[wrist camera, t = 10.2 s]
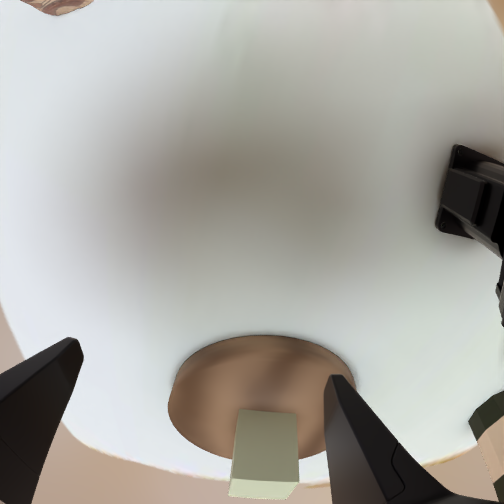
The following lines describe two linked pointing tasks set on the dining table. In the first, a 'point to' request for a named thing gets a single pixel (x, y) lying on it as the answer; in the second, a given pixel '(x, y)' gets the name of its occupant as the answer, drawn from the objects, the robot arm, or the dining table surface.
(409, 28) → the dining table surface
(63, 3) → the figurine
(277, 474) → the sage block
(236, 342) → the walnut base
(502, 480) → the wine bottle
